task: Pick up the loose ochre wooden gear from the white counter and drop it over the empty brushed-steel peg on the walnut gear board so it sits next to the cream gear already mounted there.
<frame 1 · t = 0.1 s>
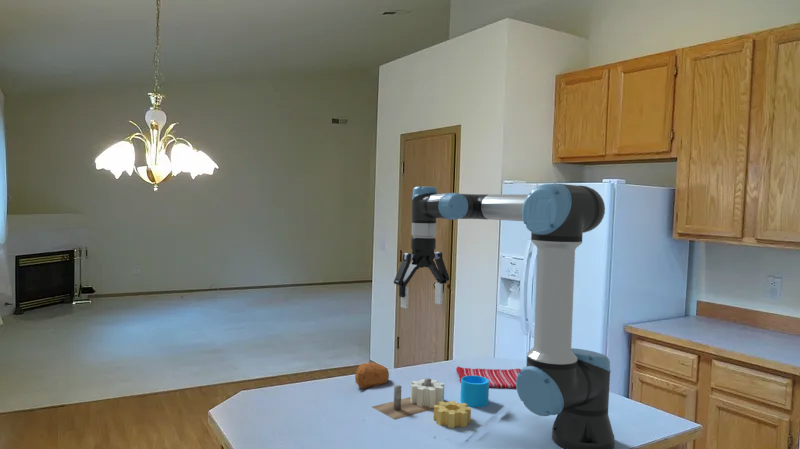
hand: (421, 305, 170), 28 cm above the countertop, fingers open, 13 cm apart
dish towel: (492, 382, 188), on the countertop
walnut board: (412, 410, 158), on the countertop
potato: (371, 387, 178), on the countertop
mug: (473, 405, 164), on the countertop
ochre gear: (451, 425, 148), on the countertop
cream gear: (427, 401, 162), resting on walnut board
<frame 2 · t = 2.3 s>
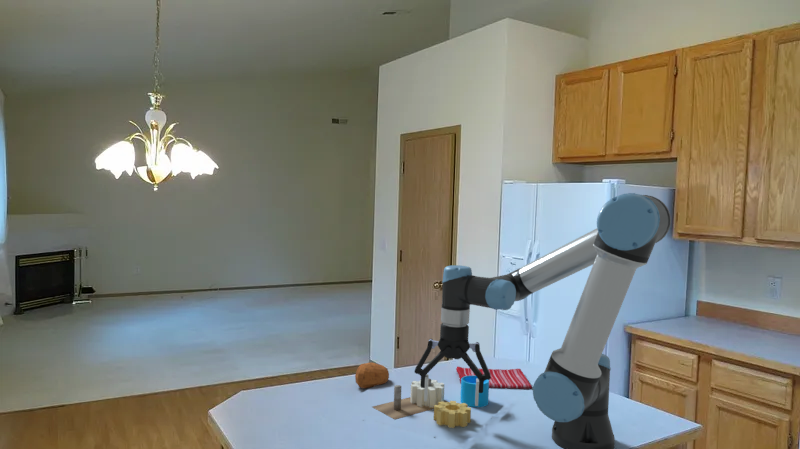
hand: (451, 401, 148), 6 cm above the countertop, fingers open, 13 cm apart
nothing on the countertop moved.
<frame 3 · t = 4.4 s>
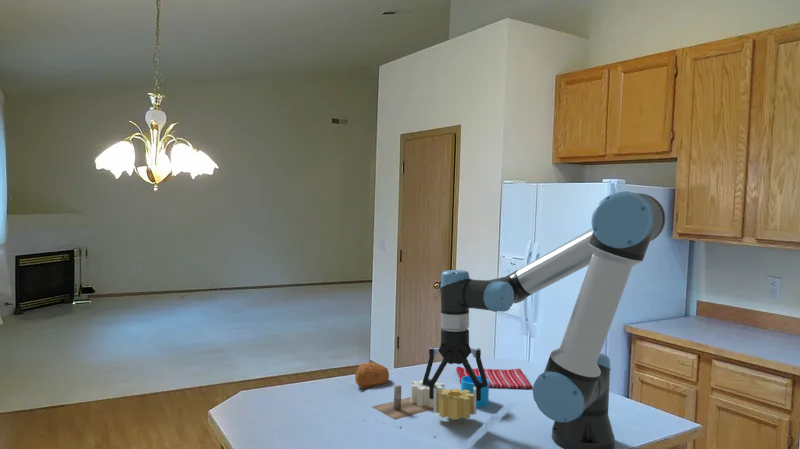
hand: (455, 411, 147), 4 cm above the countertop, fingers closed on ochre gear, 10 cm apart
ochre gear: (455, 412, 147), point 4 cm above the countertop, touching gripper
everything else where it was.
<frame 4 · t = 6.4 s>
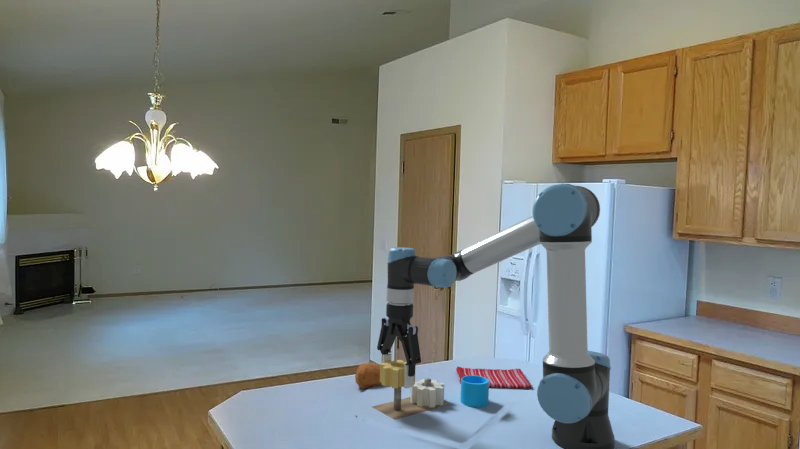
hand: (397, 381, 155), 9 cm above the countertop, fingers closed on ochre gear, 10 cm apart
ochre gear: (397, 382, 155), point 9 cm above the countertop, touching gripper
everything else where it was.
when the fingers open (3 cm above the countertop, at t = 8.2 s): ochre gear stays where it is, resting on walnut board.
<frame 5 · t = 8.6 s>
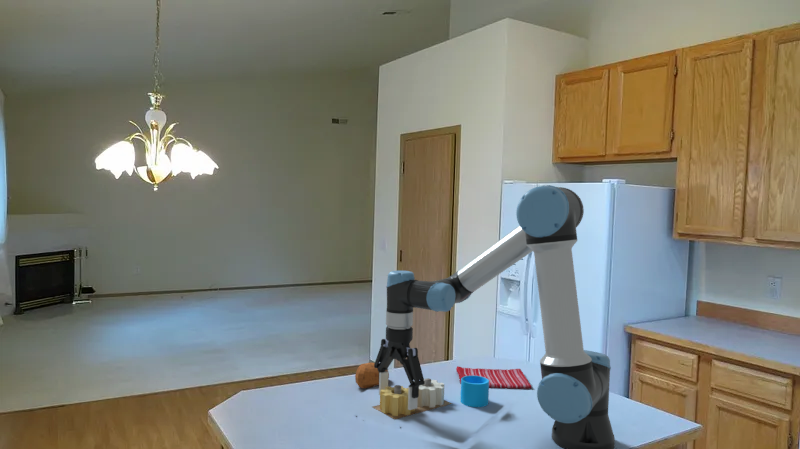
hand: (397, 401, 155), 4 cm above the countertop, fingers open, 13 cm apart
ochre gear: (397, 409, 155), point 1 cm above the countertop, touching walnut board
everything else where it was.
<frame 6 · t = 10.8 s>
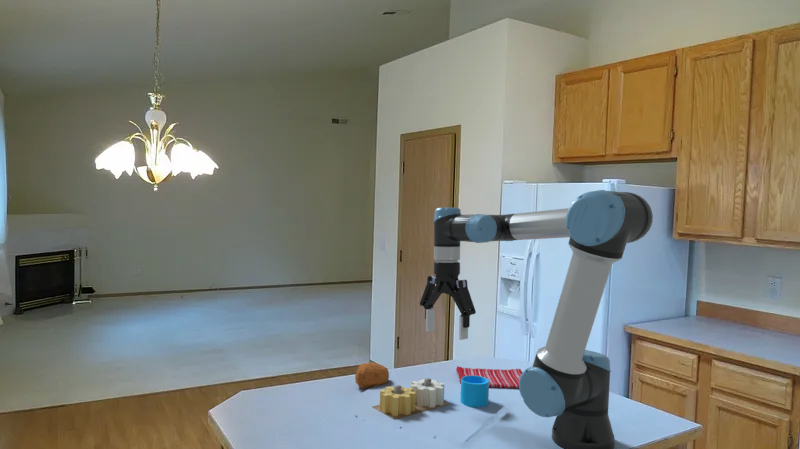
hand: (446, 334, 159), 22 cm above the countertop, fingers open, 13 cm apart
nothing on the countertop moved.
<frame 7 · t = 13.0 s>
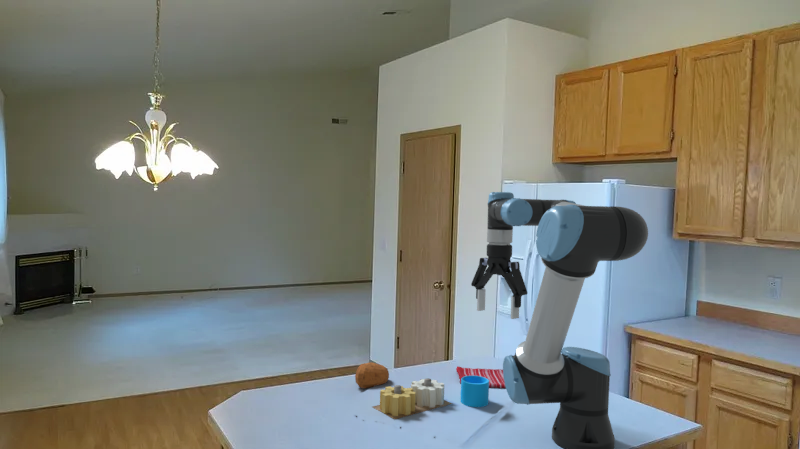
hand: (497, 314, 166), 27 cm above the countertop, fingers open, 13 cm apart
nothing on the countertop moved.
at the end: ochre gear 0.0 cm from the target spot on the walnut board, point 1.5 cm above the walnut board's base; ochre gear tilted 0°; the gripper is holding nothing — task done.
